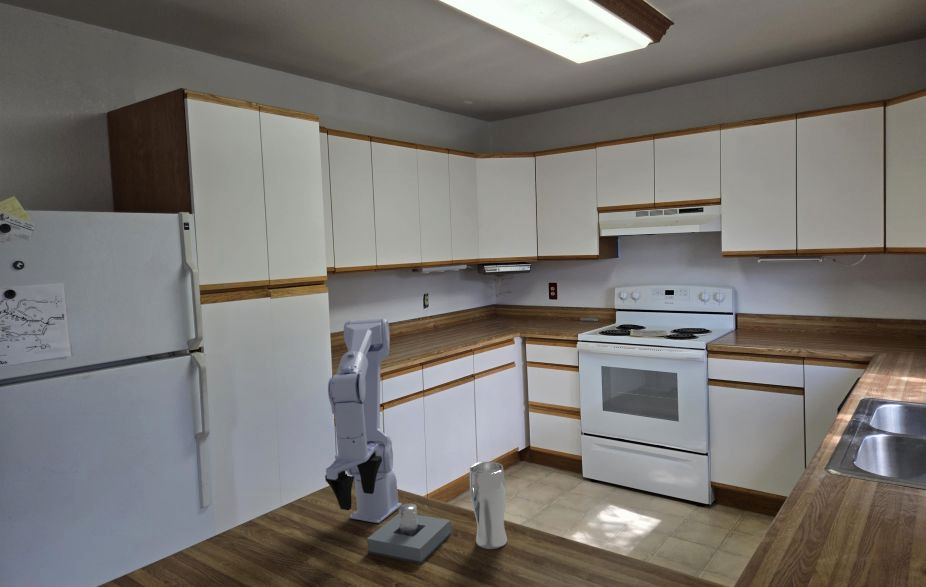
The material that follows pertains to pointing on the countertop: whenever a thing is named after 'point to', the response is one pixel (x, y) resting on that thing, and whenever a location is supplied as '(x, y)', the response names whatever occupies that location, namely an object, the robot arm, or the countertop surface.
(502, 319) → the countertop surface
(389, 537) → the hole block
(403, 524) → the peg
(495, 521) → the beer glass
